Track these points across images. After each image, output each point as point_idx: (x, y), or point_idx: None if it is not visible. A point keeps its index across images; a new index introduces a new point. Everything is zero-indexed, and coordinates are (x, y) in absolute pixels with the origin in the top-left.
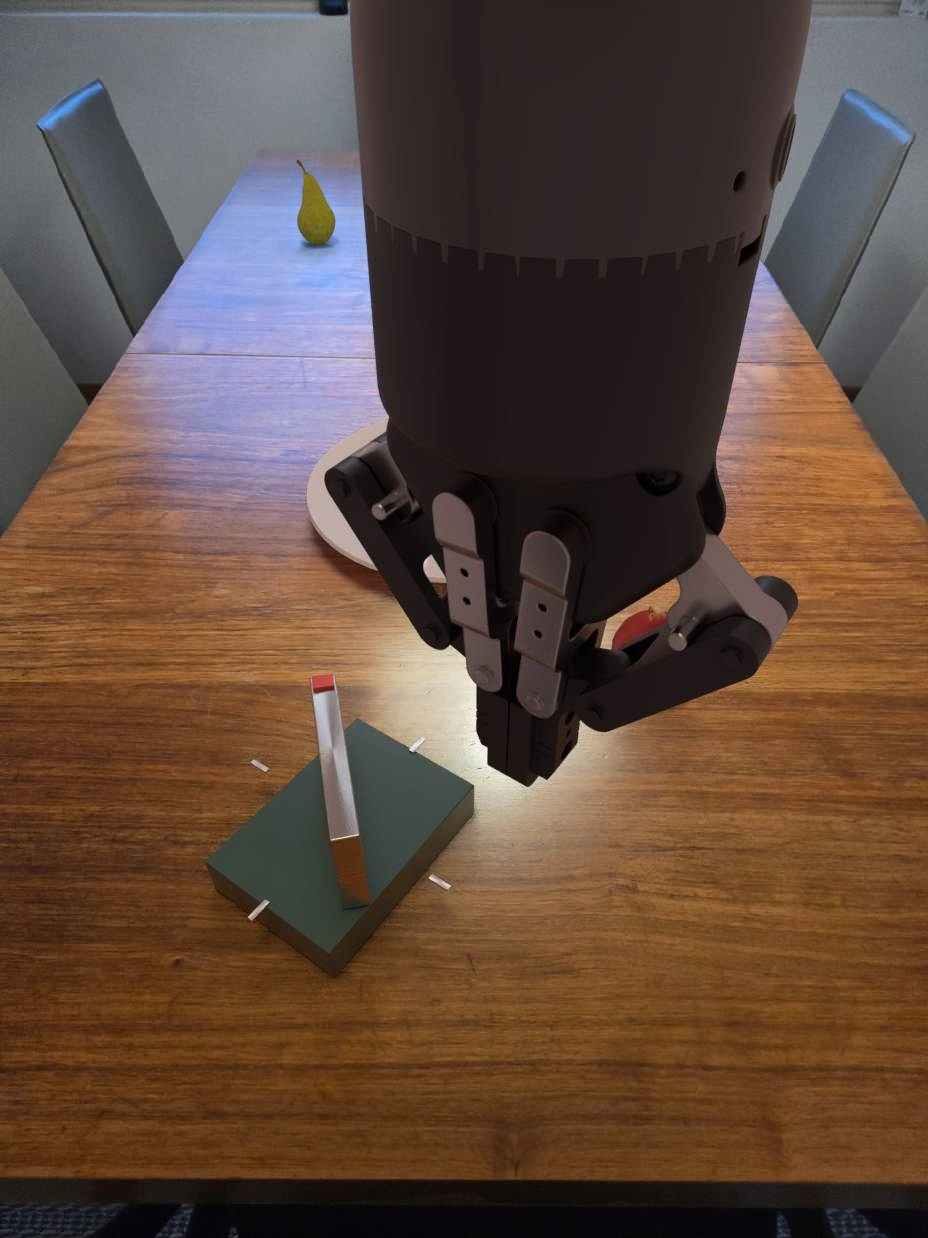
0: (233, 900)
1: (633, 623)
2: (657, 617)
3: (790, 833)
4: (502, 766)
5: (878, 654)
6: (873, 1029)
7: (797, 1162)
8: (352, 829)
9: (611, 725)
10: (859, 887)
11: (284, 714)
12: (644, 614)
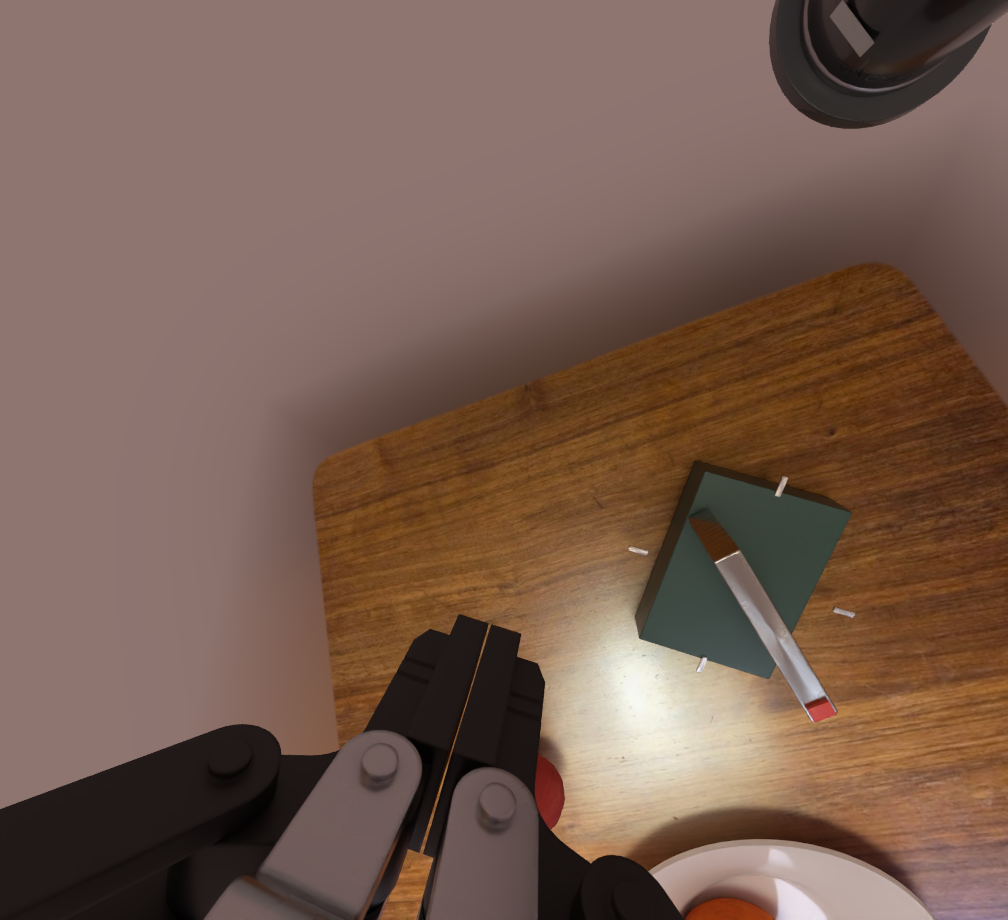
0: (807, 492)
1: (546, 821)
2: None
3: None
4: (493, 635)
5: None
6: (341, 536)
7: (369, 447)
8: (723, 566)
9: (200, 743)
10: (360, 626)
11: (842, 669)
12: None
